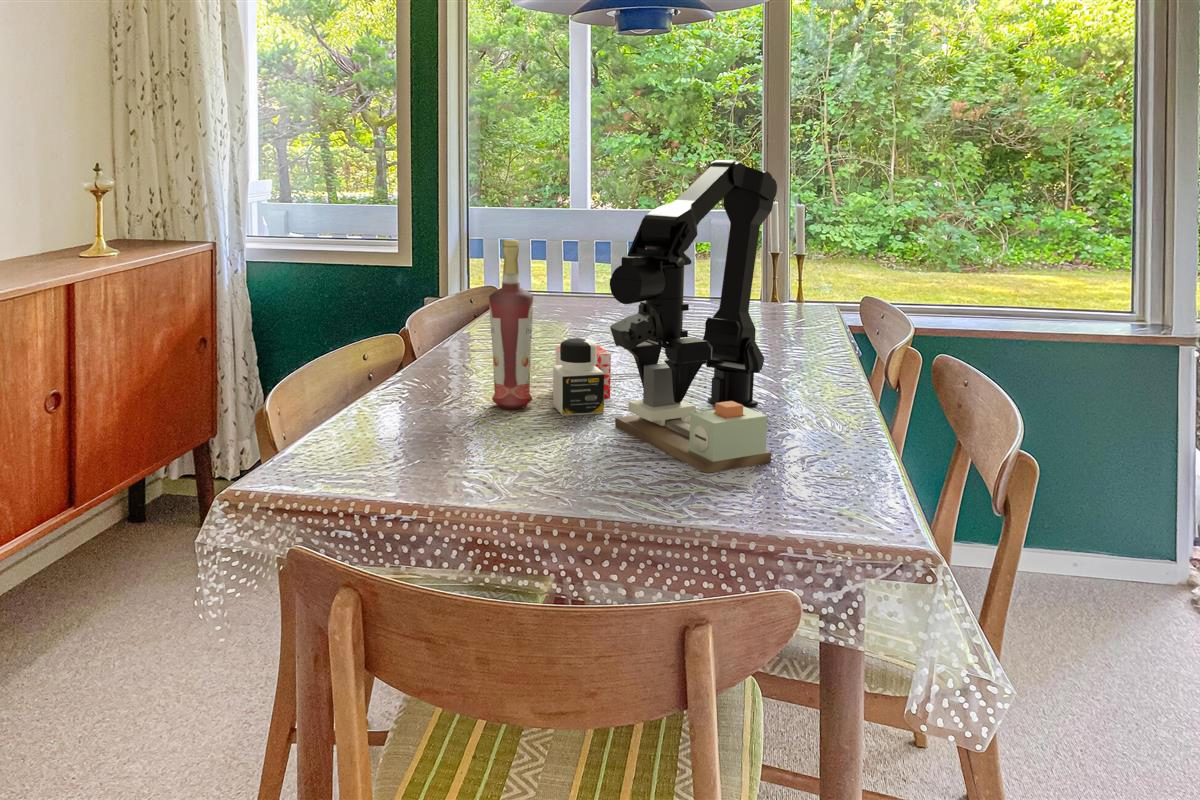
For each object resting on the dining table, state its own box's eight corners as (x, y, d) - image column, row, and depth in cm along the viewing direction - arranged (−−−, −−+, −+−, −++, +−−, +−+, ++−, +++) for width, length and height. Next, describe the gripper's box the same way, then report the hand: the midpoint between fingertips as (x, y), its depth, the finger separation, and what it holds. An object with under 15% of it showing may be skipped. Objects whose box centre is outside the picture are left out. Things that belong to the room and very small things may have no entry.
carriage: (671, 410, 169) (672, 359, 167) (695, 421, 164) (696, 367, 161) (628, 416, 166) (629, 363, 164) (650, 427, 160) (652, 372, 158)
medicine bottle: (562, 416, 173) (562, 345, 170) (552, 406, 179) (552, 336, 176) (604, 414, 174) (605, 343, 172) (592, 403, 181) (593, 335, 178)
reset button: (730, 427, 150) (731, 400, 150) (742, 432, 148) (743, 405, 147) (714, 430, 149) (715, 402, 148) (725, 435, 147) (726, 407, 146)
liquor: (532, 412, 175) (531, 243, 168) (488, 411, 175) (485, 242, 168) (535, 401, 182) (534, 238, 175) (493, 400, 182) (490, 238, 175)
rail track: (673, 418, 172) (674, 404, 171) (770, 462, 150) (771, 445, 149) (615, 426, 167) (615, 411, 166) (706, 473, 145) (707, 455, 144)
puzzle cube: (555, 390, 191) (555, 347, 189) (597, 387, 193) (597, 345, 191) (567, 400, 183) (567, 356, 181) (610, 397, 186) (610, 353, 184)
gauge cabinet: (740, 442, 154) (742, 406, 153) (765, 453, 149) (767, 415, 148) (686, 450, 150) (687, 413, 148) (710, 462, 145) (711, 423, 143)
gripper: (589, 291, 164) (588, 388, 168) (650, 309, 148) (648, 415, 152) (650, 287, 169) (648, 381, 173) (716, 304, 153) (712, 407, 157)
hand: (662, 395), depth 164 cm, fingers open, 9 cm apart
